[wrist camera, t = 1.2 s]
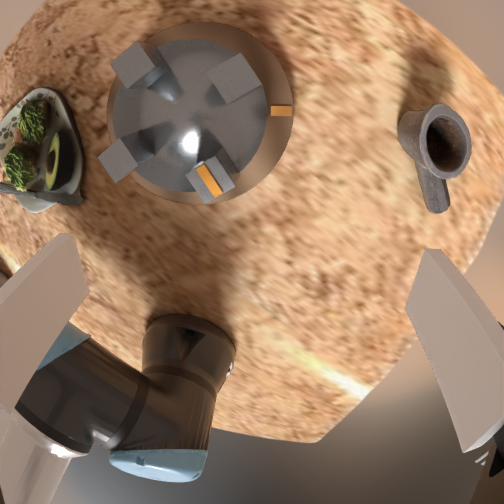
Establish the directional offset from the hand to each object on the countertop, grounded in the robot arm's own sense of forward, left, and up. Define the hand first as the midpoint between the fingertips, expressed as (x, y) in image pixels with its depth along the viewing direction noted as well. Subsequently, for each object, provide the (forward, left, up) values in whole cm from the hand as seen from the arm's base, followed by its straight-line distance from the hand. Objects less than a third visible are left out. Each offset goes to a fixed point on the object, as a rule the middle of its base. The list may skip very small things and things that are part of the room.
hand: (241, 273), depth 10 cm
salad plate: (-25, +17, -24) cm, 39 cm away
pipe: (+16, -8, -24) cm, 30 cm away
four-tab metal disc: (-4, +7, -21) cm, 23 cm away
